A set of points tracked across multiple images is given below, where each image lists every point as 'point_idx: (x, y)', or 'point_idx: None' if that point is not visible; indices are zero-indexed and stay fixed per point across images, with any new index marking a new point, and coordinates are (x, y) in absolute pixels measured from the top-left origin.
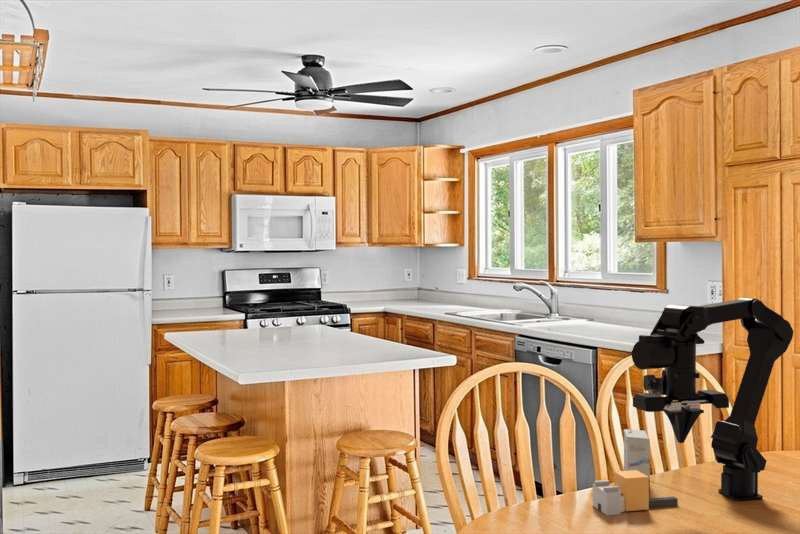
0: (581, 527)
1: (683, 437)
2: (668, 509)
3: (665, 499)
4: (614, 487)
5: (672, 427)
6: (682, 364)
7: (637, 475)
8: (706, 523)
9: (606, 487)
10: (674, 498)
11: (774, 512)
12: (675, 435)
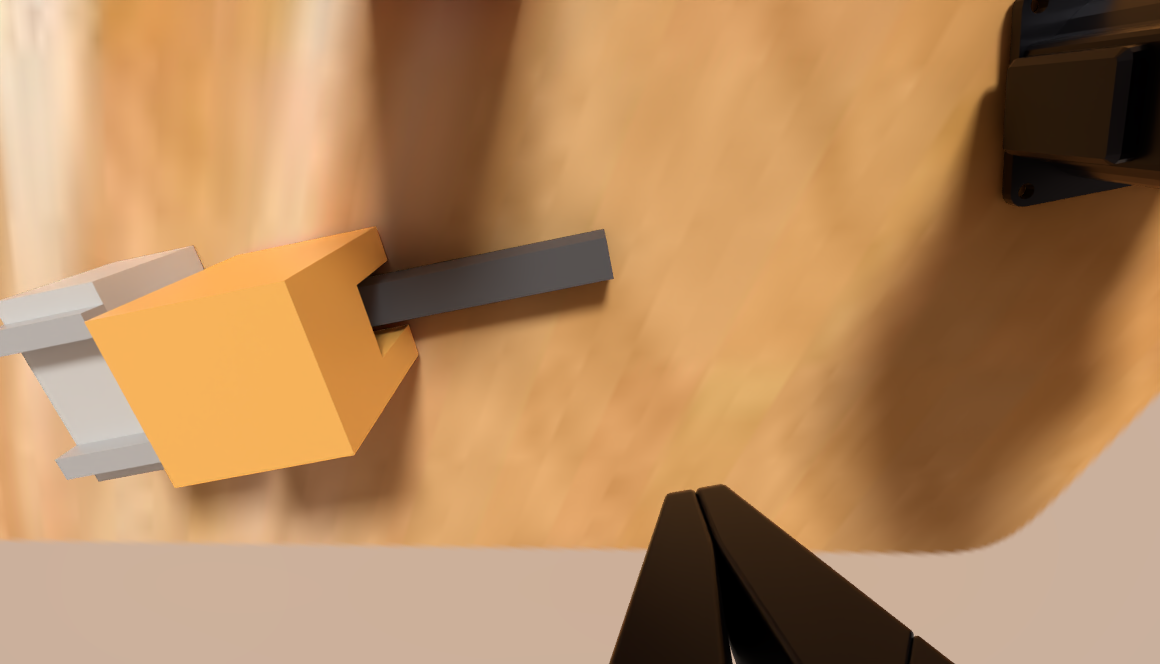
0: (70, 541)
1: (729, 637)
2: (536, 328)
3: (533, 293)
4: (132, 465)
5: (612, 659)
6: None
7: (271, 423)
8: (647, 509)
9: (76, 472)
10: (595, 276)
11: (1071, 383)
12: (649, 555)
